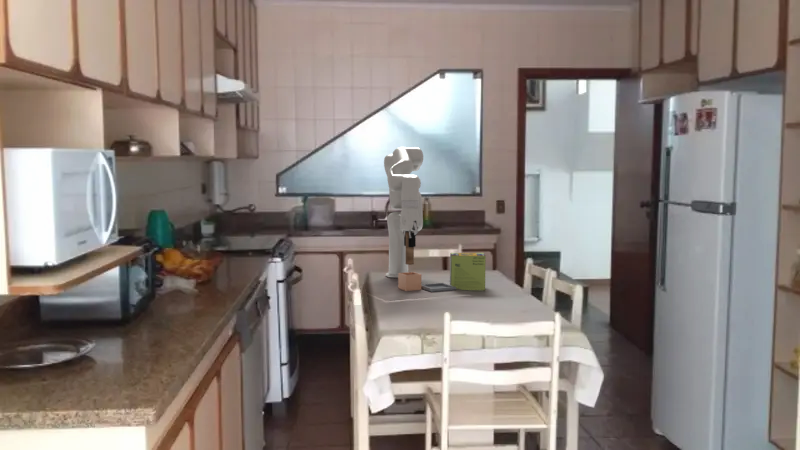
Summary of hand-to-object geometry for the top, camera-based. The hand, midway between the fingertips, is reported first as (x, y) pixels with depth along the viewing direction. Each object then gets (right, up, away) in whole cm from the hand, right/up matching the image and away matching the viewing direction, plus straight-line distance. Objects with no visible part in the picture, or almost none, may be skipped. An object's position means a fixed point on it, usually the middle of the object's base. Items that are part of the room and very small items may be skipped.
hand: (409, 245), depth 318 cm
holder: (0, -20, +1) cm, 20 cm away
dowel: (0, -8, +1) cm, 8 cm away
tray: (+12, -20, +1) cm, 23 cm away
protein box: (+26, -19, +8) cm, 33 cm away
